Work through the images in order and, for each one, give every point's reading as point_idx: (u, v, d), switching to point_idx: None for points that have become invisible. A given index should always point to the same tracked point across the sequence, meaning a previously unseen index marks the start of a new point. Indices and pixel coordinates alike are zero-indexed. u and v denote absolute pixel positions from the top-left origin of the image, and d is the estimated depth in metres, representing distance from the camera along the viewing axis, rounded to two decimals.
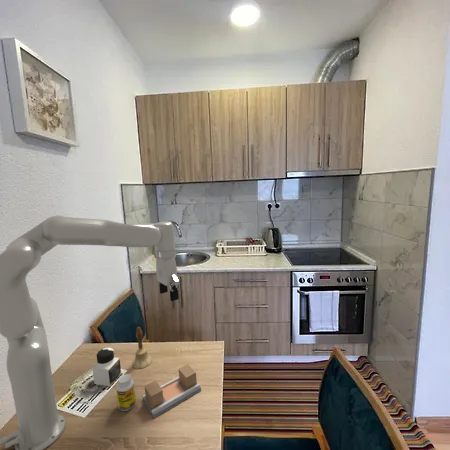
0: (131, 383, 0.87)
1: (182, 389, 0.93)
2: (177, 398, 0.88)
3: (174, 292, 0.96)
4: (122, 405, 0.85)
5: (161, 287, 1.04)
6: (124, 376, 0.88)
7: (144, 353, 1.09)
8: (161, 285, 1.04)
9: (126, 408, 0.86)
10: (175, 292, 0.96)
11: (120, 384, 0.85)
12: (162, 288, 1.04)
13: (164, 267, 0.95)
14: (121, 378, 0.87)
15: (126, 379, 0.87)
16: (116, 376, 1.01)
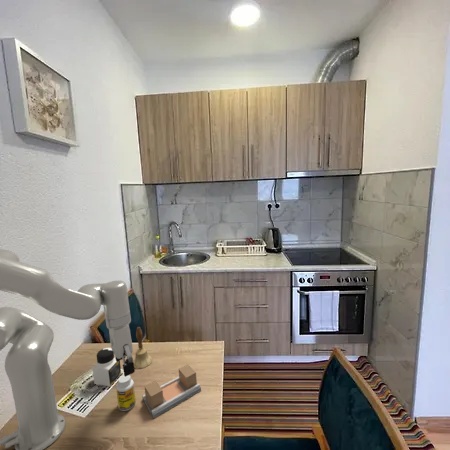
0: (131, 383, 0.87)
1: (182, 389, 0.93)
2: (177, 398, 0.88)
3: (128, 366, 0.81)
4: (122, 405, 0.85)
5: None
6: (124, 376, 0.88)
7: (144, 353, 1.09)
8: None
9: (126, 408, 0.86)
10: (129, 366, 0.82)
11: (120, 384, 0.85)
12: None
13: (115, 338, 0.80)
14: (121, 378, 0.87)
15: (126, 379, 0.87)
16: (116, 376, 1.01)
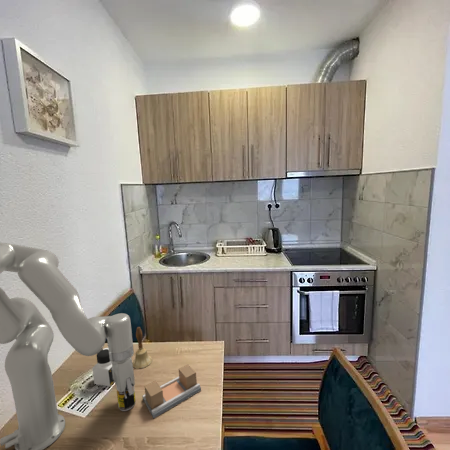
0: None
1: (182, 389, 0.93)
2: (177, 398, 0.88)
3: (128, 399, 0.84)
4: (122, 405, 0.85)
5: None
6: None
7: (144, 353, 1.09)
8: None
9: None
10: (130, 398, 0.85)
11: None
12: None
13: (117, 372, 0.82)
14: None
15: None
16: None
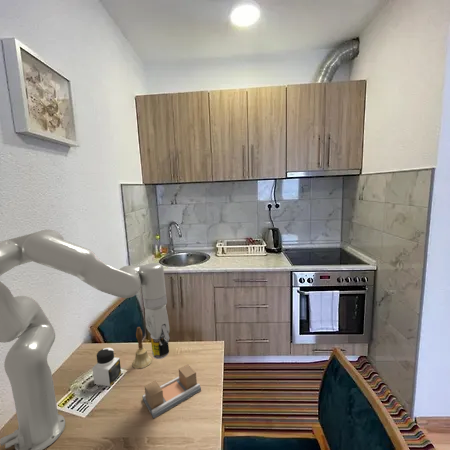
0: None
1: (182, 389, 0.93)
2: (177, 398, 0.88)
3: (163, 346, 0.85)
4: (157, 353, 0.86)
5: None
6: None
7: (144, 353, 1.09)
8: None
9: (161, 356, 0.86)
10: (165, 346, 0.85)
11: None
12: None
13: (153, 318, 0.83)
14: None
15: None
16: (116, 376, 1.01)
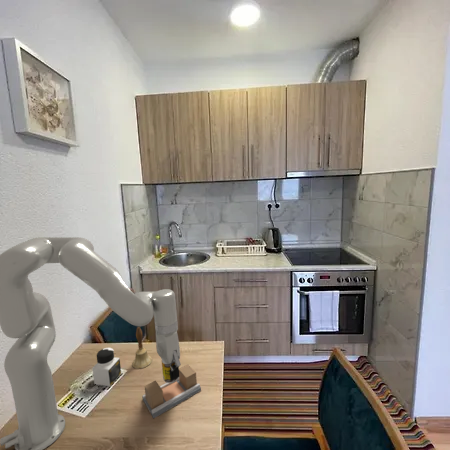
0: None
1: (182, 389, 0.93)
2: (177, 398, 0.88)
3: (174, 371, 0.87)
4: (168, 377, 0.88)
5: None
6: None
7: (144, 353, 1.09)
8: None
9: None
10: (175, 371, 0.87)
11: None
12: None
13: (165, 344, 0.85)
14: None
15: None
16: (116, 376, 1.01)
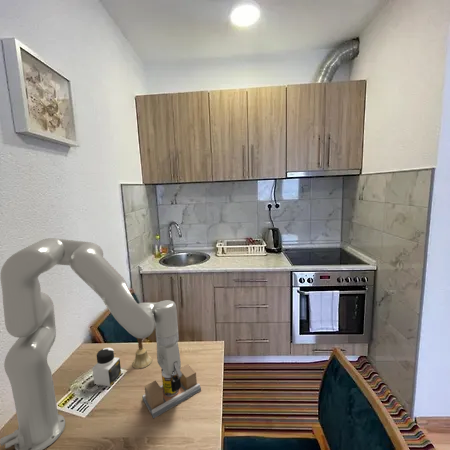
0: None
1: (182, 389, 0.93)
2: (177, 398, 0.88)
3: (176, 382, 0.87)
4: (168, 391, 0.89)
5: None
6: None
7: (144, 353, 1.09)
8: None
9: (171, 394, 0.89)
10: (177, 382, 0.87)
11: None
12: None
13: (166, 355, 0.85)
14: None
15: None
16: (116, 376, 1.01)
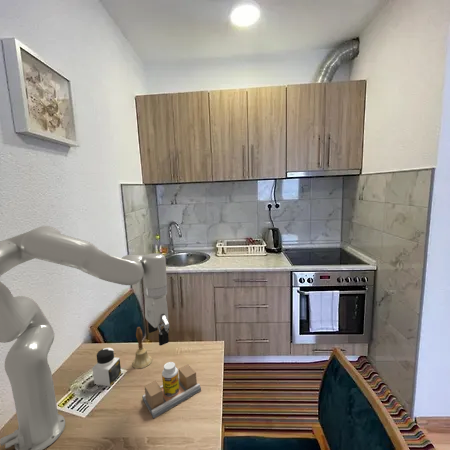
0: (176, 370, 0.91)
1: (182, 389, 0.93)
2: (177, 398, 0.88)
3: (163, 335, 0.84)
4: (168, 391, 0.89)
5: (150, 326, 0.92)
6: (169, 363, 0.91)
7: (144, 353, 1.09)
8: (150, 323, 0.92)
9: (171, 394, 0.89)
10: (165, 335, 0.85)
11: (166, 371, 0.89)
12: (151, 327, 0.92)
13: (153, 307, 0.83)
14: (166, 365, 0.90)
15: (171, 366, 0.90)
16: (116, 376, 1.01)
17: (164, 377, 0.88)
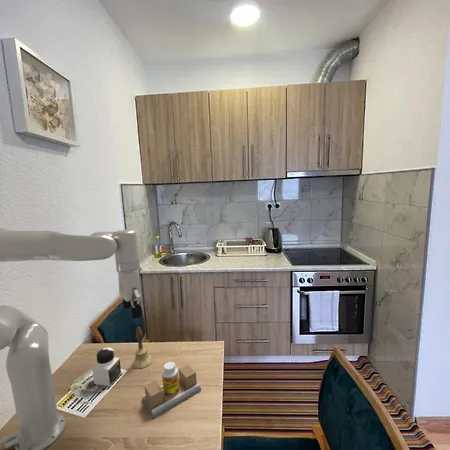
0: (176, 370, 0.91)
1: (182, 389, 0.93)
2: (177, 398, 0.88)
3: (136, 309, 0.86)
4: (168, 391, 0.89)
5: (125, 302, 0.94)
6: (169, 363, 0.91)
7: (144, 353, 1.09)
8: (125, 300, 0.94)
9: (171, 394, 0.89)
10: (137, 309, 0.86)
11: (166, 371, 0.89)
12: (126, 303, 0.94)
13: (124, 281, 0.85)
14: (166, 365, 0.90)
15: (171, 366, 0.90)
16: (116, 376, 1.01)
17: (164, 377, 0.88)
